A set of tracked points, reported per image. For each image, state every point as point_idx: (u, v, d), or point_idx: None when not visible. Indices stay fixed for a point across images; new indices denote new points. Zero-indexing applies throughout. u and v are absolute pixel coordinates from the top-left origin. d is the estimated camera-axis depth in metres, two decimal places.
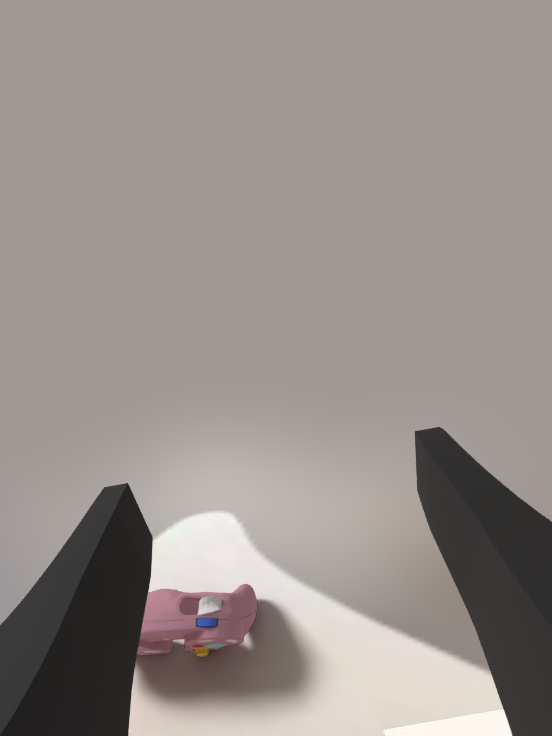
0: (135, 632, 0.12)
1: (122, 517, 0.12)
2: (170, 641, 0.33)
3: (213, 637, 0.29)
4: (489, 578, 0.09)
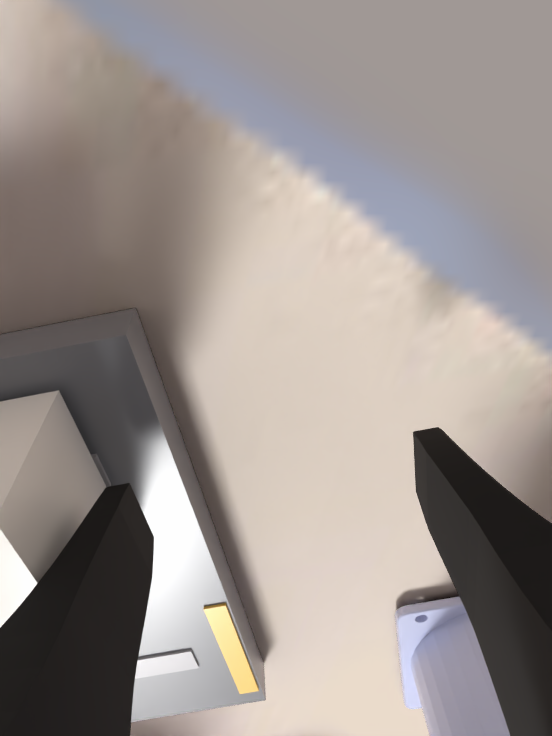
0: (137, 632, 0.12)
1: (124, 517, 0.12)
2: None
3: None
4: (487, 578, 0.09)
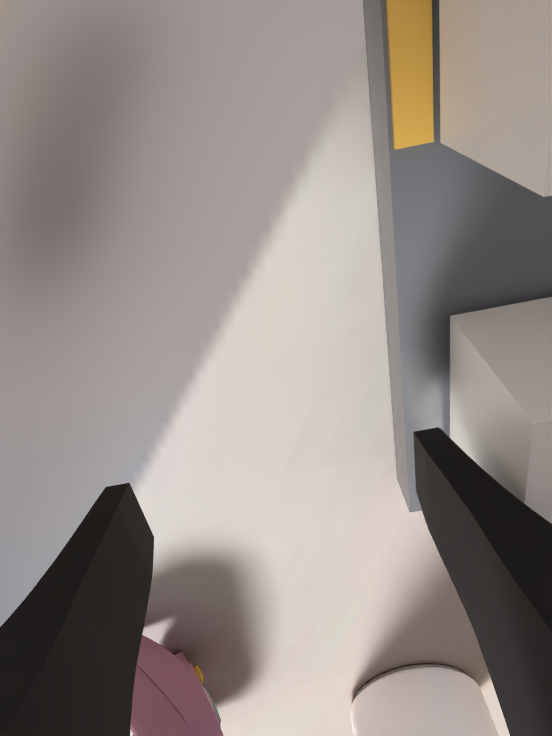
0: (137, 632, 0.12)
1: (124, 517, 0.12)
2: None
3: None
4: (487, 578, 0.09)
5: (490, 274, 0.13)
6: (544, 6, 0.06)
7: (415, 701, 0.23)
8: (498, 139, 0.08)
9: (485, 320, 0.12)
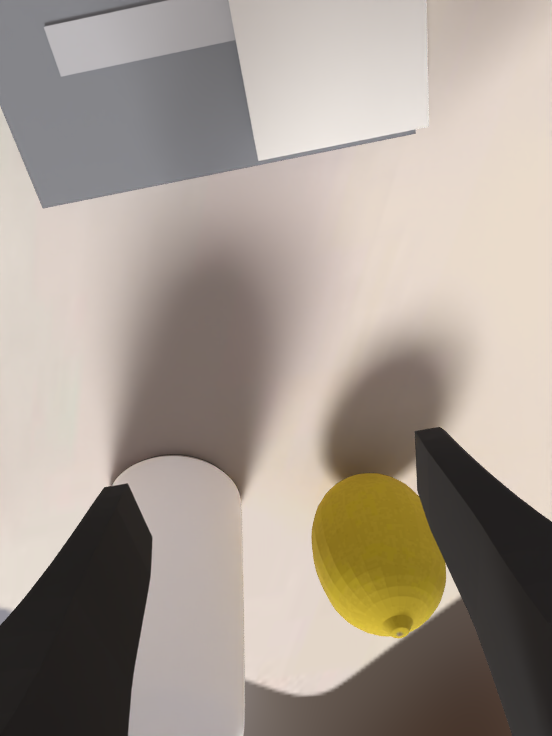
0: (135, 632, 0.12)
1: (122, 517, 0.12)
2: None
3: None
4: (489, 578, 0.09)
5: None
6: None
7: (146, 478, 0.23)
8: None
9: None
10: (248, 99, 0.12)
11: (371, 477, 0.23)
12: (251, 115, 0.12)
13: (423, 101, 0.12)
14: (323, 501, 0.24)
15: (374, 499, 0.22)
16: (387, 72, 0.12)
